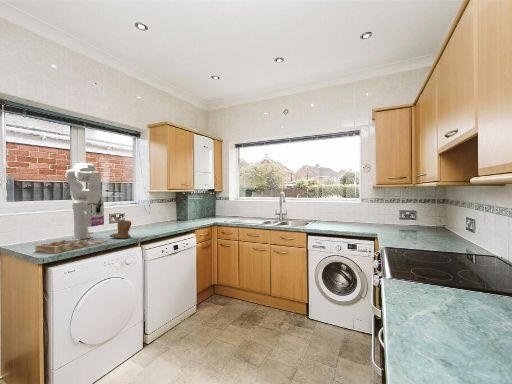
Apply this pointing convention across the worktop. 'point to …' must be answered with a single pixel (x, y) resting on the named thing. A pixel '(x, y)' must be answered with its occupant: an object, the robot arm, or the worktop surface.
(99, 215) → the candy bar box
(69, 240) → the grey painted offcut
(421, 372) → the worktop surface
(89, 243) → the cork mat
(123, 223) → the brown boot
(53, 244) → the wooden compartment tray
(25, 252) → the worktop surface
